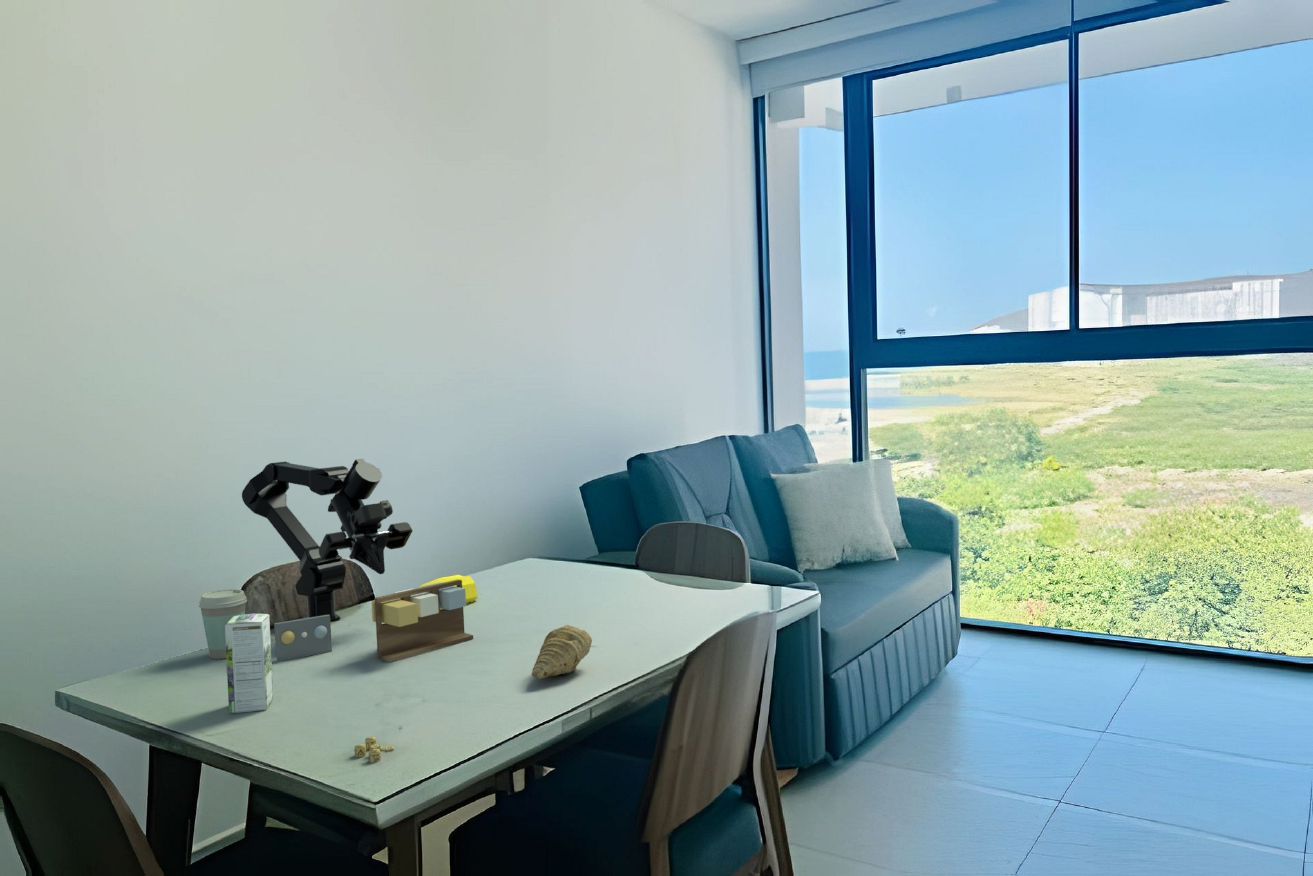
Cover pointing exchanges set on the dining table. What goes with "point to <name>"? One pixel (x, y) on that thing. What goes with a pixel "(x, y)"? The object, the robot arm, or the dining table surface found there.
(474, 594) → the yellow curved piece
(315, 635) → the card
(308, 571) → the robot arm
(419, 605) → the middle button
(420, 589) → the button board
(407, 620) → the left button
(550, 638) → the seashell
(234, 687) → the syrup box
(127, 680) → the dining table surface
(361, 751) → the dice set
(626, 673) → the dining table surface
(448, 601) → the right button
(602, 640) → the dining table surface
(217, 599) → the coffee cup
